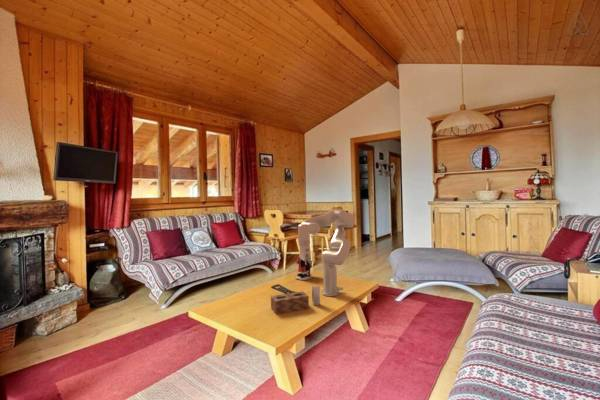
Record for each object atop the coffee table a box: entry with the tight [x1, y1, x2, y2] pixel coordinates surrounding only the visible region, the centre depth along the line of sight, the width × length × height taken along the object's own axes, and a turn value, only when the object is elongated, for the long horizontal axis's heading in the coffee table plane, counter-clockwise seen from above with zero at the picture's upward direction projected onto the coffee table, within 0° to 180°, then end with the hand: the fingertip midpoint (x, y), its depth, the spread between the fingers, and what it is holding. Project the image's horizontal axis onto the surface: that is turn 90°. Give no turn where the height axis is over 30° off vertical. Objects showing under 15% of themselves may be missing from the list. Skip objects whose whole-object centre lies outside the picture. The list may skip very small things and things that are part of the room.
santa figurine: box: [295, 254, 313, 281], centre depth 262 cm, size 17×14×25 cm
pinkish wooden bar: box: [311, 285, 321, 307], centre depth 199 cm, size 4×2×12 cm, turn 111°
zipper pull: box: [270, 283, 296, 294], centre depth 214 cm, size 9×7×25 cm
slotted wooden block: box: [270, 291, 310, 315], centre depth 194 cm, size 22×10×8 cm, turn 111°
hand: (305, 268), depth 200 cm, fingers open, 9 cm apart
